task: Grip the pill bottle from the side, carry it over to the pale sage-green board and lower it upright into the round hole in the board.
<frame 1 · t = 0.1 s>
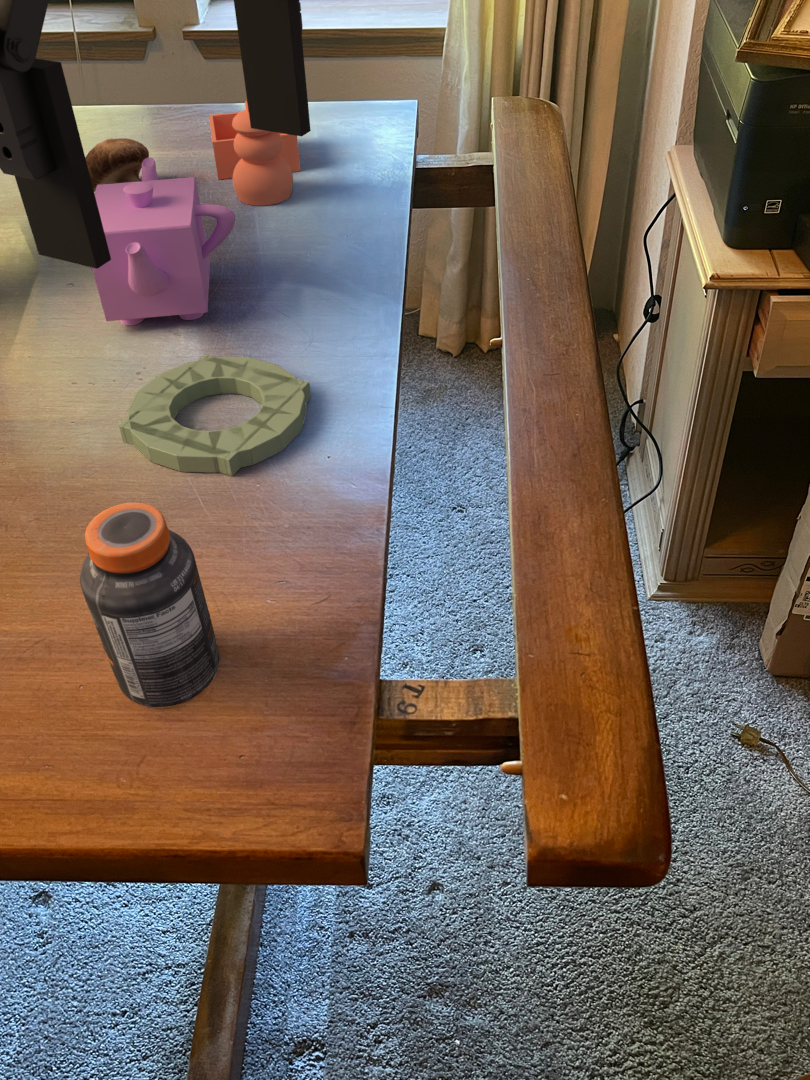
hand: (189, 187, 38), 27 cm above the table, tool pointing down, fingers open, 13 cm apart
hole board: (219, 419, 73), on the table
pill bottle: (170, 672, 55), on the table
mushroom: (122, 192, 107), on the table
teapot: (164, 304, 88), on the table
pottery: (259, 176, 109), on the table
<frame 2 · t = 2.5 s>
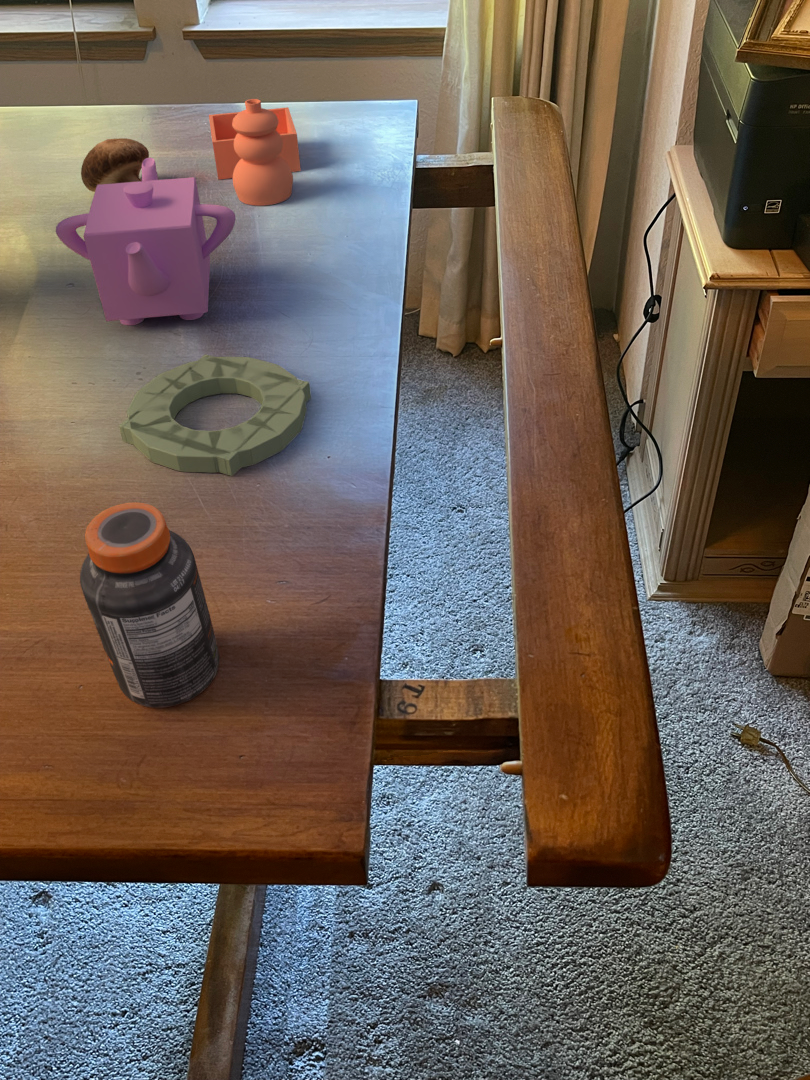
nothing on the table moved.
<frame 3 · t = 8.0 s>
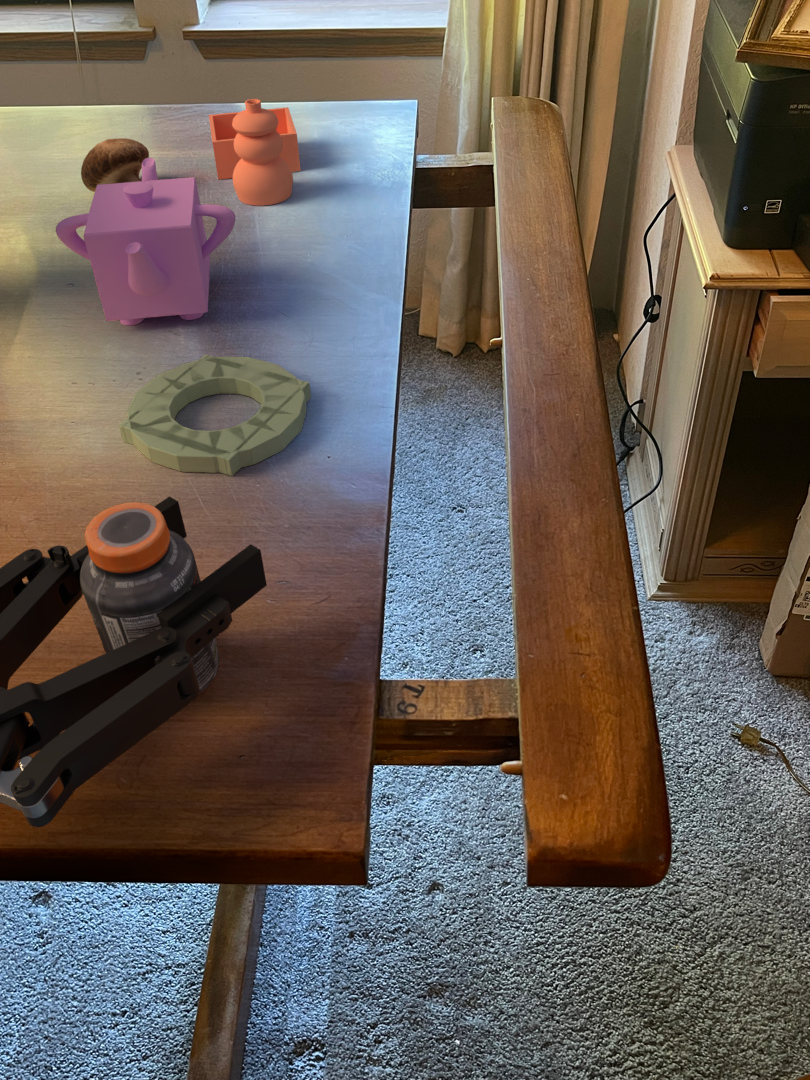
hand: (216, 540, 53), 6 cm above the table, tool horizontal, fingers closed on pill bottle, 6 cm apart
pill bottle: (170, 672, 55), on the table, touching gripper
everything else where it was.
when the fingers open (6 cm above the table, at t = 18.2 s): pill bottle stays where it is, resting in hole board.
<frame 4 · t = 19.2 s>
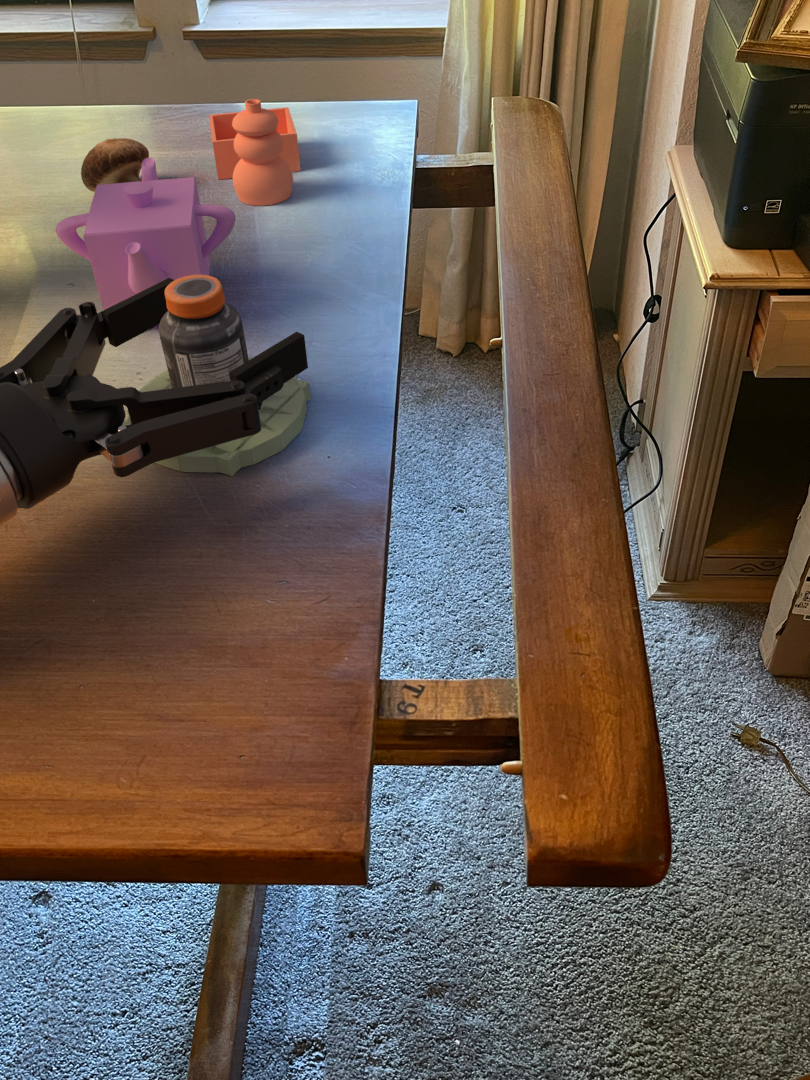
hand: (236, 320, 71), 7 cm above the table, tool horizontal, fingers open, 13 cm apart
pill bottle: (219, 421, 74), resting in hole board
everything else where it was.
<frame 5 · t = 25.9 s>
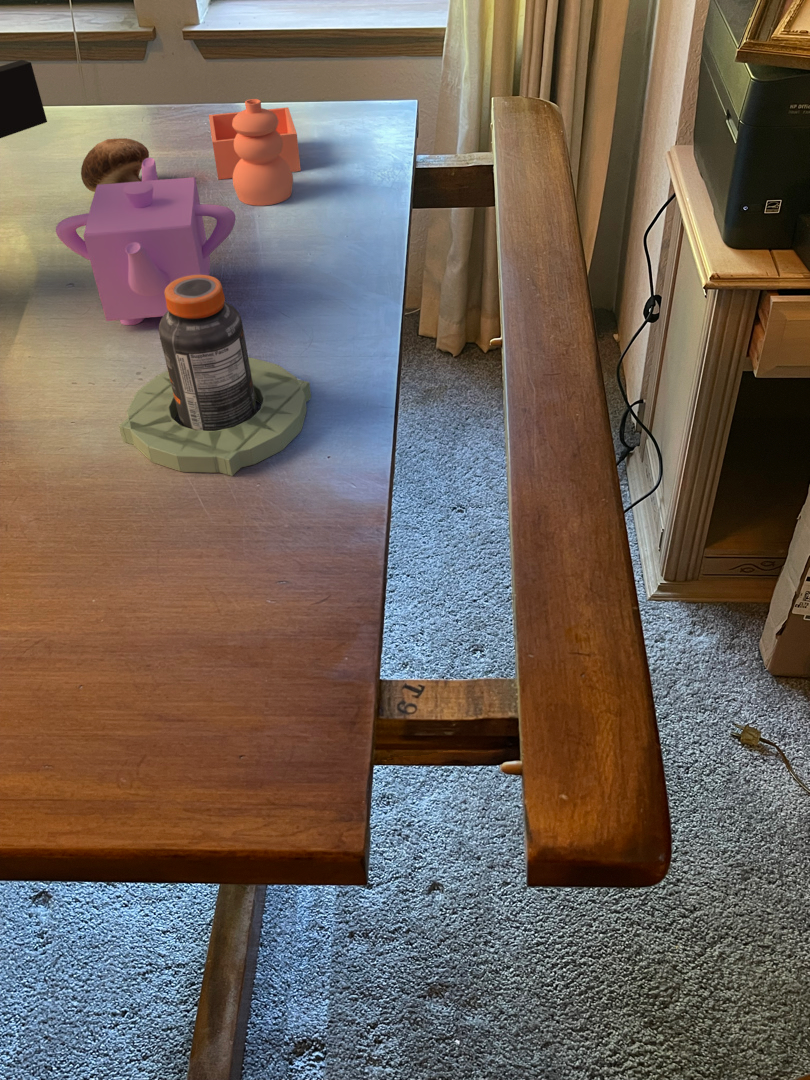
nothing on the table moved.
at the end: pill bottle 0.1 cm off-centre in the hole board, point 0.0 cm above the hole board's base; pill bottle tilted 0°; the gripper is holding nothing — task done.
